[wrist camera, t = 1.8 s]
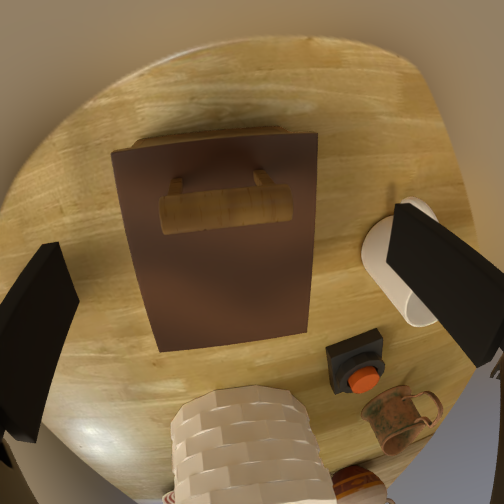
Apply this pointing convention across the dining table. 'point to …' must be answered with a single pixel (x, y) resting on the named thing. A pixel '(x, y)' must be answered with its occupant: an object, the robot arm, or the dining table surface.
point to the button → (363, 379)
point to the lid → (221, 235)
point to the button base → (354, 358)
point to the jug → (359, 487)
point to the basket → (247, 450)
